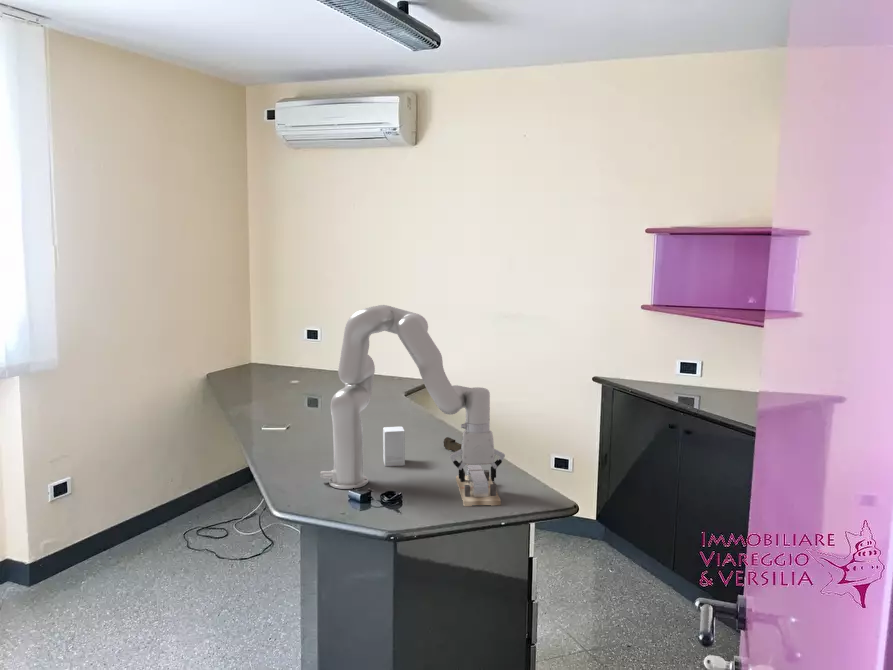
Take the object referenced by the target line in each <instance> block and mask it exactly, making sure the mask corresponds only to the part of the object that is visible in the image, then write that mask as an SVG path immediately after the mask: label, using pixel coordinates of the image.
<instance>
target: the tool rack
mask: <svg viewBox="0 0 893 670" xmlns="http://www.w3.org/2000/svg"><path fill="white" fill-rule="evenodd" d="M483 472H484V474H485V476H486V479H487V481H488V497H474V496H473V493H472V491H471V488H470V485H469V482H468V480H467V475H466V471H465V470H464V482H461V479H459V475H456V477H455V478H456V479H455V481H456V484H457V486H458V487H459V488H458V487H457V488H458V490H459V494H460V497H461V500H463V501H462V504H463V506H464V507H473V506H472V505H491V506H501V504H502V502H501V501H502V500H501V498H500V496H499V493H498V491H497V486H496V484H495V483H493V481H492V480H491V475H490V470H489V469H483Z"/></svg>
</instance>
